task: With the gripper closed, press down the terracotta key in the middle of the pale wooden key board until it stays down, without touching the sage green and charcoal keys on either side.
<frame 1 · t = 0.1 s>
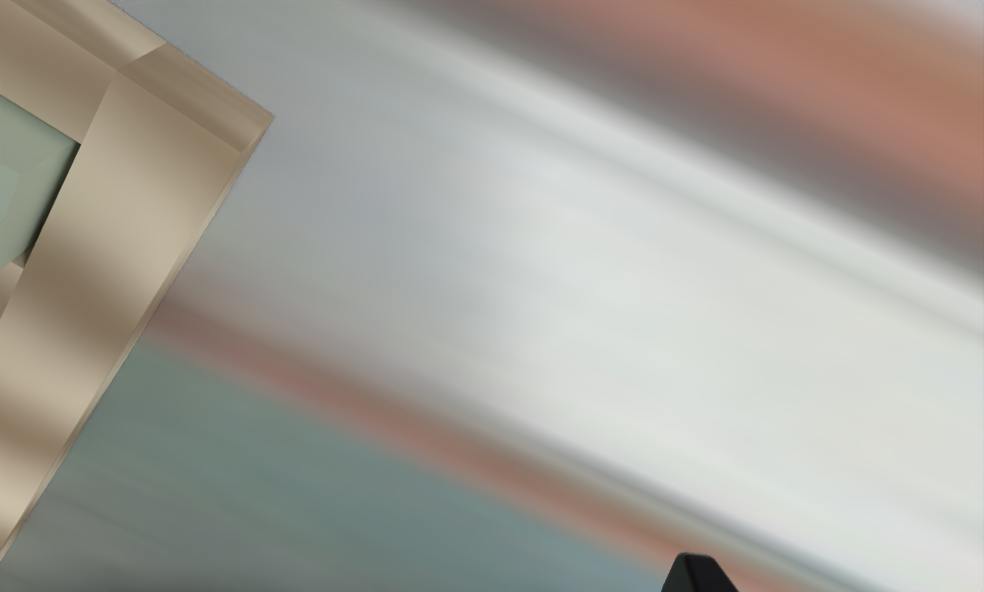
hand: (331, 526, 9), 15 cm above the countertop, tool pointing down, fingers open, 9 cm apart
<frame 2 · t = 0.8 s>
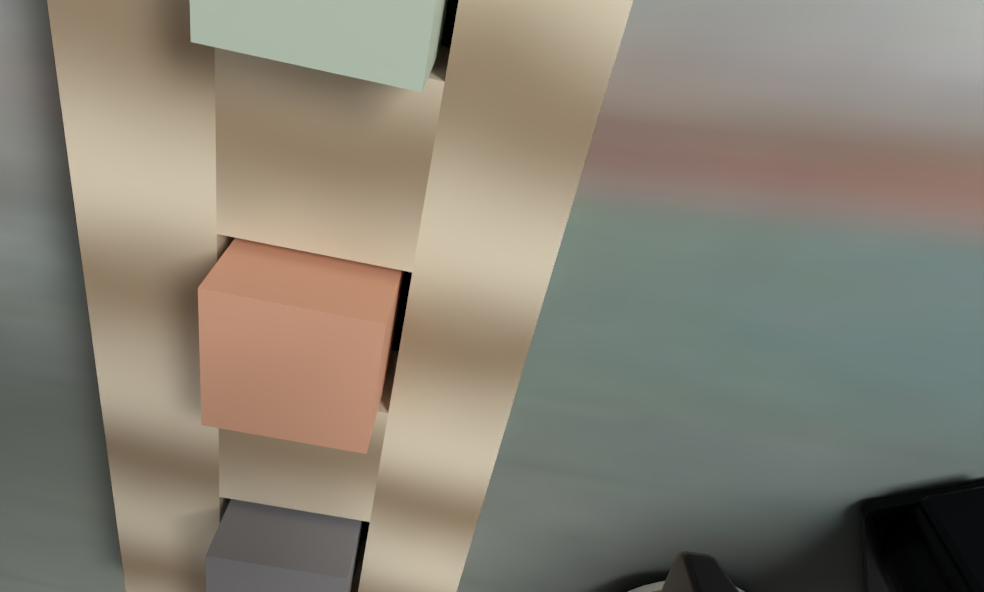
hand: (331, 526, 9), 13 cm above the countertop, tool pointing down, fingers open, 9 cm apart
terracotta key: (307, 336, 19), point 3 cm above the countertop, slide at 0.0 cm
charcoal key: (289, 562, 24), point 3 cm above the countertop, slide at 0.0 cm
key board: (334, 274, 22), on the countertop
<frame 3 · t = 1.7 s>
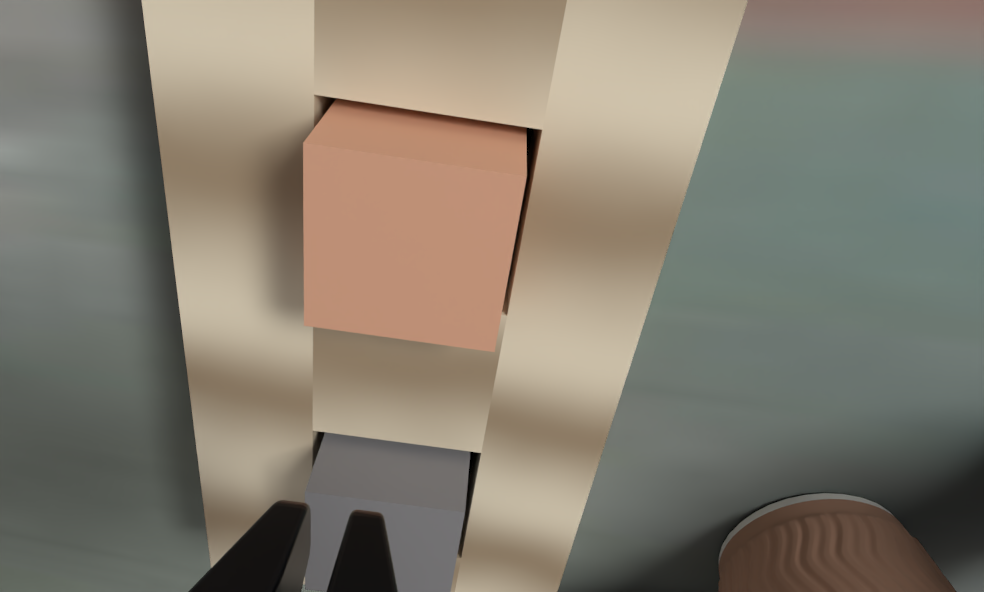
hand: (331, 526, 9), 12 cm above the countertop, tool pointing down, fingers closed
terracotta key: (417, 219, 16), point 3 cm above the countertop, slide at 0.0 cm
charcoal key: (390, 505, 22), point 3 cm above the countertop, slide at 0.0 cm
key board: (433, 166, 19), on the countertop
coffee cup: (806, 547, 27), on the countertop
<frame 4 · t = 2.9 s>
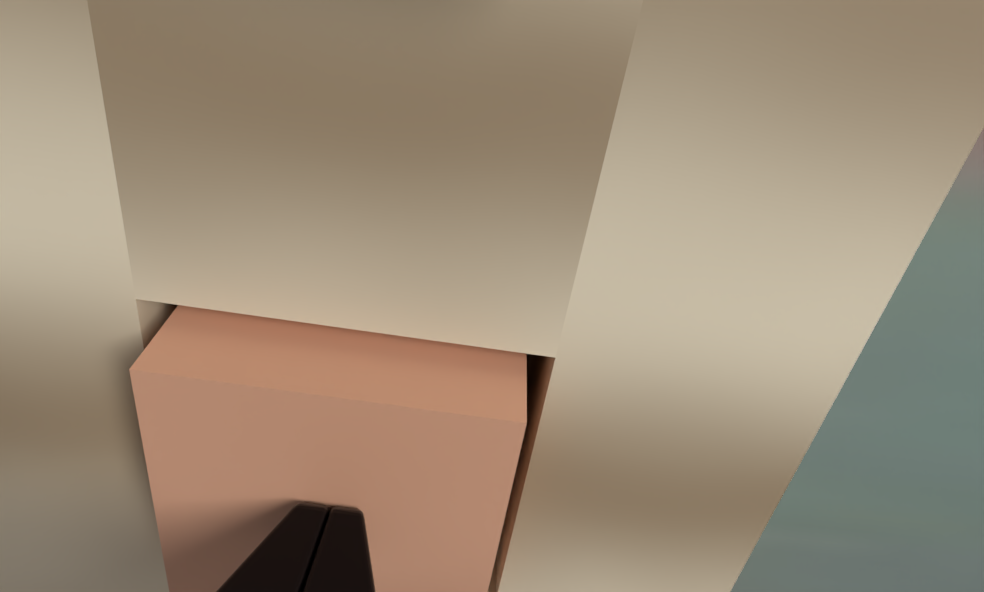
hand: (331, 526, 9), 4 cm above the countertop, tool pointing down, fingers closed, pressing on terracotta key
terracotta key: (355, 429, 10), point 2 cm above the countertop, slide at 1.1 cm, touching gripper
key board: (380, 344, 12), on the countertop
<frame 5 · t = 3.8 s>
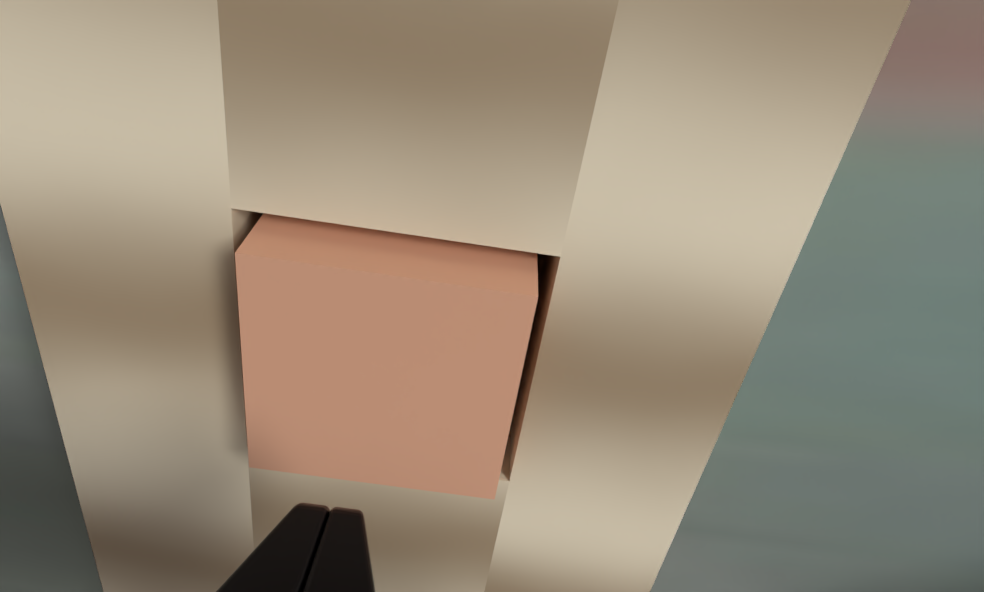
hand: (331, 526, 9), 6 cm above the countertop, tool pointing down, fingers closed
terracotta key: (396, 327, 13), point 2 cm above the countertop, slide at 1.3 cm
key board: (411, 271, 14), on the countertop
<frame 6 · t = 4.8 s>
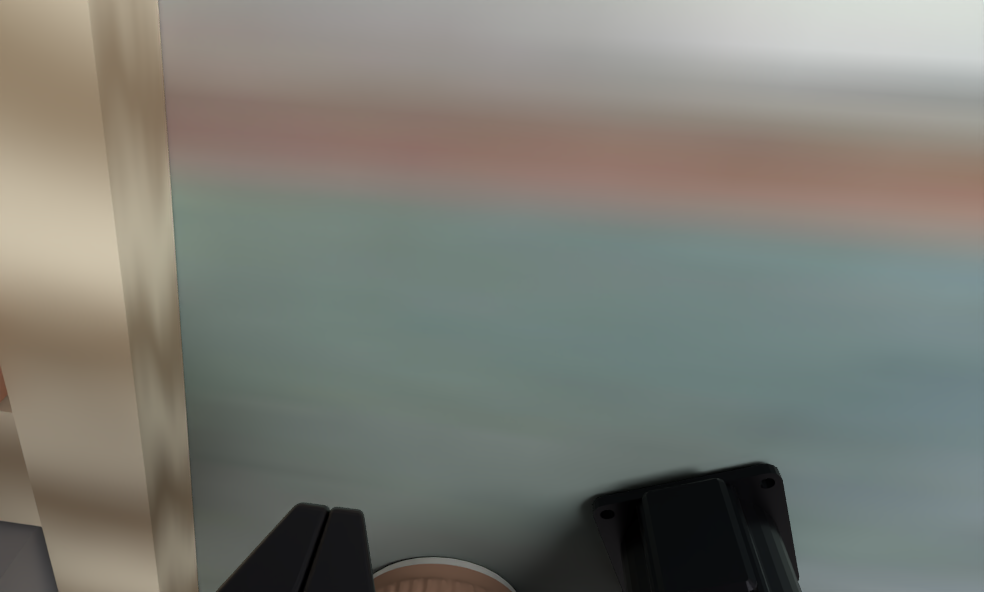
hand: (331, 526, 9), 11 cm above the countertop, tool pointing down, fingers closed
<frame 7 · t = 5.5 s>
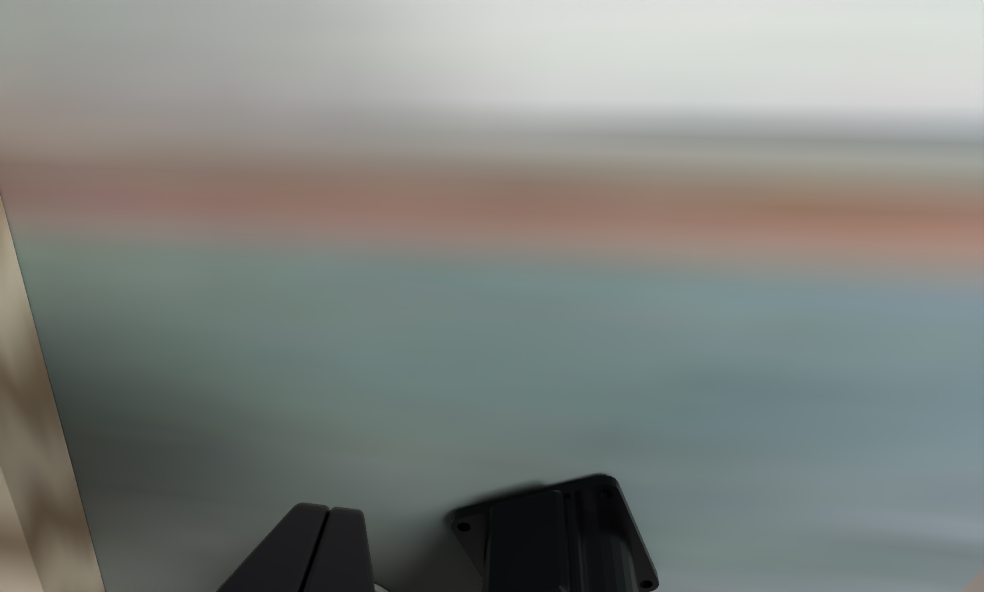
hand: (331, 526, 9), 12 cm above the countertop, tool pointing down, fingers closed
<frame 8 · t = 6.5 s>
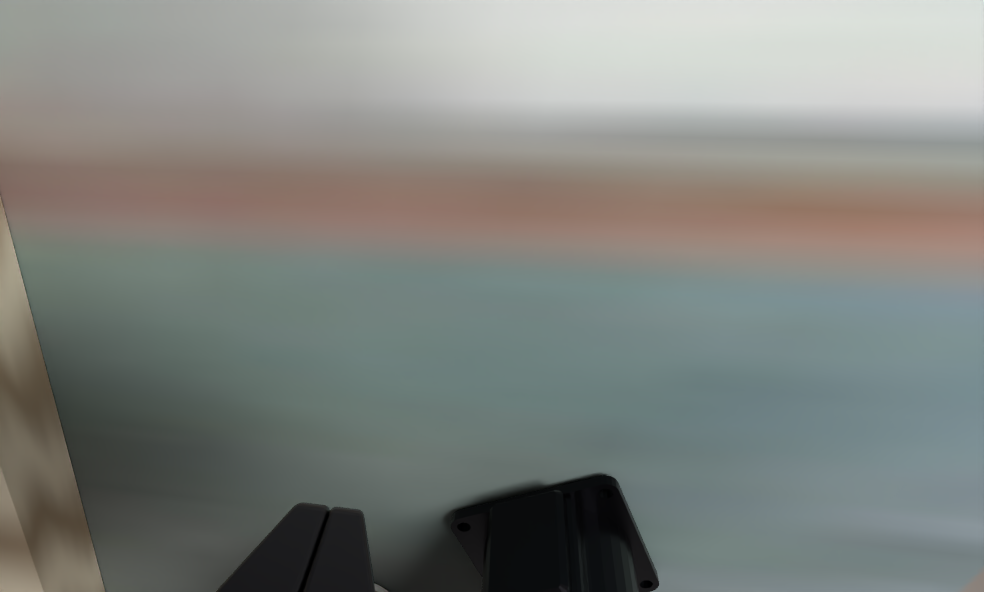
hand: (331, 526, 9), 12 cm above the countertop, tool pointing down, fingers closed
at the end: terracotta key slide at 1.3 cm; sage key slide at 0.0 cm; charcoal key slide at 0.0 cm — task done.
